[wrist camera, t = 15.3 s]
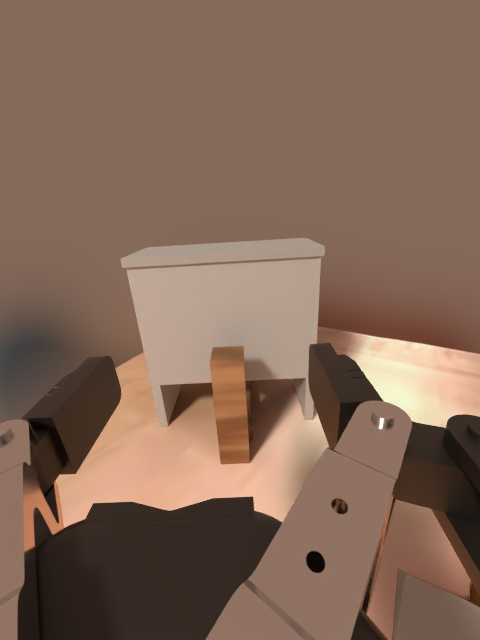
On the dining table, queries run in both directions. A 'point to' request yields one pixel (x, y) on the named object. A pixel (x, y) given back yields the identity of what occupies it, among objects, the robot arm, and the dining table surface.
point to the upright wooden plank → (231, 404)
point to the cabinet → (226, 311)
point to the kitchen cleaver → (433, 612)
